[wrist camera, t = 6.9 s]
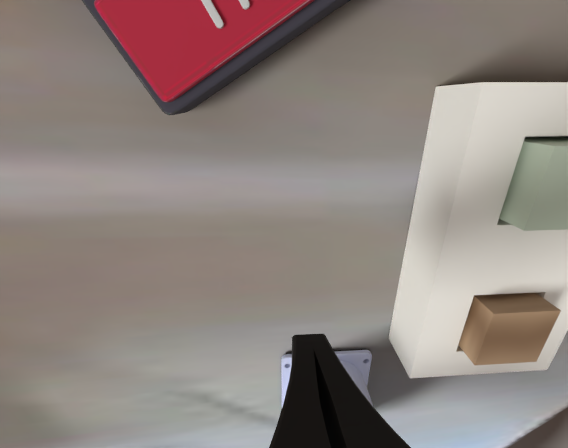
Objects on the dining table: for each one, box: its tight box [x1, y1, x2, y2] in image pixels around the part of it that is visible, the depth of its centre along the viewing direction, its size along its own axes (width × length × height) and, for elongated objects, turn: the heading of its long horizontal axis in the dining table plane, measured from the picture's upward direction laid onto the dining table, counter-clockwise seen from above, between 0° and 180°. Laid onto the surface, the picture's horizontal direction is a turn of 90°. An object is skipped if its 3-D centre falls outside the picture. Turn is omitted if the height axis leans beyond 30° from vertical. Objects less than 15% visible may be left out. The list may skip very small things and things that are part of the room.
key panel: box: [389, 82, 568, 378], centre depth 20 cm, size 20×11×4 cm, turn 0°
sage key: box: [499, 137, 568, 231], centre depth 16 cm, size 4×4×4 cm
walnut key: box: [458, 293, 561, 365], centre depth 20 cm, size 4×4×4 cm
